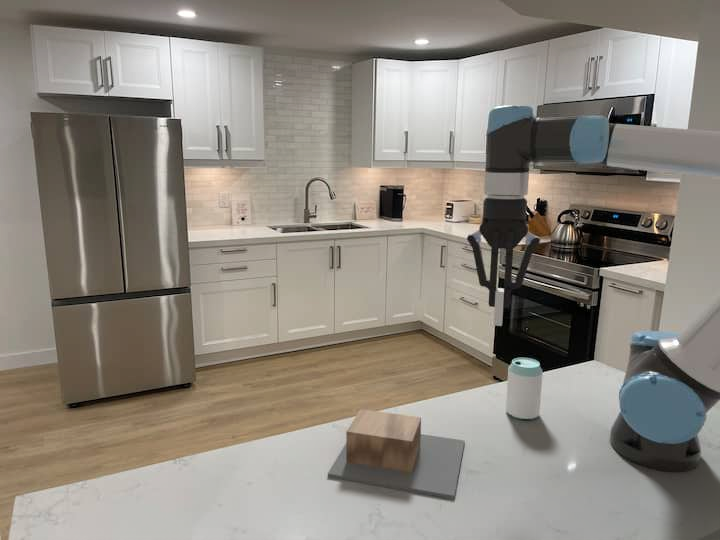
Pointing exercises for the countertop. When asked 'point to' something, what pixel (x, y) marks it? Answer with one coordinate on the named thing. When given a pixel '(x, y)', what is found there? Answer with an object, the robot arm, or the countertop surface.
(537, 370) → the can
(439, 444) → the mat
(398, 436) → the walnut block
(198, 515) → the countertop surface
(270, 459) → the countertop surface
